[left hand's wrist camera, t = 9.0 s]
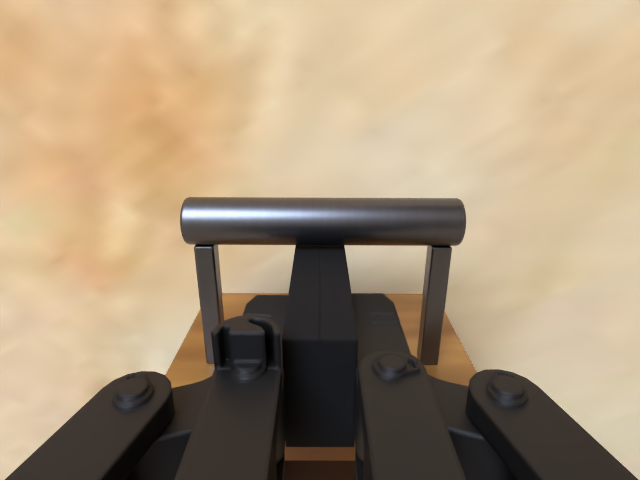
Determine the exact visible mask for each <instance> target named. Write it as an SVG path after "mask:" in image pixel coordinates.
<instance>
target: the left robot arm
mask: <svg viewBox="0 0 640 480" xmlns="http://www.w3.org/2000/svg"><path fill="white" fill-rule="evenodd" d="M211 338H212V348H213V358H214V367H215V369H214V372H213V374H212V376H211V377H209V378H207V379H205V380H202V381H199V382H196V383H192V384H188V385H183V386H179V387H174V388H172V386H171V381H170V380H169V379H168V378H167V377H166V376H165V375H163V374H160V373H157V372H147V371H141V372H136V373H132V374H127V375H125V376H123V377H120V378H118V379H116V380H114V381H112V382H111V383H109V384H108V385H107V386H105V387H104V388H102V389H101V390H100V391H99V392H98V393H97V394H96V395H95V396H94V397H93V398H92V399H91V400H90V401H89V402H87V403H86V404H85V405H84V406H83V407H82V408H81V409H80V410H79V411H78V412H77V413H76V414H75V415H74V416H72V417H71V418H70V419H69V420H68V421H67V422H66V423H65V424H64V425H63V426H62V427H61V428H60V429H59V430H58V431H56V432H55V433H54V434H53V435H52V436H51V437H50V438H49V439H48V440H47V441H46V442H45V443H44V444H43V445H42V446H40V447H39V448H38V449H37V450H36V451H35V452H34V453H33V454H32V455H31V456H30V457H29V458H28V459H27V460H25V461H24V462H23V463H22V464H21V465H20V466H19V467H18V468H17V469H16V470H15V471H14V472H13V473H12V474H11V475H9V476H8V477H7V478H6V479H5V480H284V477H285V440H286V447H354V438H355V448H356V449H355V475H354V480H638V479H637V478H636V477H635V476H634V475H633V474H632V473H631V472H629V471H628V470H627V469H626V468H625V467H624V466H623V465H622V464H621V463H620V462H619V461H618V460H617V459H615V458H614V457H613V456H612V455H611V454H610V453H609V452H608V451H607V450H606V449H605V448H604V447H603V446H601V445H600V444H599V443H598V442H597V441H596V440H595V439H594V438H593V437H592V436H591V435H590V434H589V433H587V432H586V431H585V430H584V429H583V428H582V427H581V426H580V425H579V424H578V423H577V422H576V421H575V420H573V419H572V418H571V417H570V416H569V415H568V414H567V413H566V412H565V411H564V410H563V409H562V408H561V407H559V406H558V405H557V404H556V403H555V402H554V401H553V400H552V399H551V398H550V397H549V396H548V395H547V394H545V393H544V392H543V391H542V390H541V389H540V388H539V387H538V386H537V385H535V384H534V383H532V382H531V381H529V380H528V379H527V378H525V377H522V376H520V375H517V374H515V373H513V372H508V371H503V370H483V371H481V372H478V373H475V374H474V375H473V376H472V378H471V379H470V380H469V386H465V385H460V384H456V383H451V382H447V381H444V380H440V379H437V378H435V377H433V376H431V375H429V374H427V371H426V368H425V367H424V365H423V364H422V362H421V361H420V360H419V359H417V358H416V357H415V356H413V355H412V354H411V352H410V349H409V346H408V343H407V341H406V338H405V335H404V332H403V329H402V326H401V324H400V320H399V317H398V315H397V311H396V308H395V305H394V302H392V301H391V300H390V299H389V298H388V297H387V296H386V295H384V294H351V289H350V282H349V275H348V268H347V262H346V255H345V248H344V245H296V248H295V255H294V261H293V268H292V275H291V282H290V288H289V295H256V296H255V297H254V298H253V299H251V300H250V301H249V302H248V303H247V304H246V306H245V309H244V312H243V316H237V317H234V318H230V319H227V320H225V321H223V322H222V323H220V324H218V325H217V326H216V327H215V328H214V329H213V331H212V332H211Z"/></svg>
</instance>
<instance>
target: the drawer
mask: <svg viewBox="0 0 640 480" xmlns="http://www.w3.org/2000/svg"><path fill="white" fill-rule="evenodd" d="M180 226H181V233H182V236H183V239H184V241H185V242H186V243H187V244H196V245H195V247H194V252H195V261H196V270H197V280H198V289H199V298H200V308H201V309H200V311H199V313H198V315H197V317H196V318H195V320H194V322H193V324H192V326H191V328H190V330H189V332H188V334H187V335H186V337H185V339H184V341H183V343H182V345H181V347H180V349H179V351H178V352H177V354H176V356H175V358H174V360H173V362H172V364H171V366H170V367H169V369H168V371H167V373H166V375H165V376H166V377H167V378H168V379H169V380H170V381H171V386H172V388H174V387H179V386H183V385H188V384H192V383H196V382H199V381H202V380H205V379H207V378H209V377H211V376H212V374H213V372H214V369H215V367H214V358H213V348H212V338H211V332H212V331H213V329H214V328H215V327H216V326H217V325H218V324H220V323H222V322H223V321H225V320H227V319H230V318H234V317H237V316H243V312H244V309H245V306H246V304H247V303H248V302H249V301H250V300H251V299H253V298H254V297H255V296H256V295H289V294H265V293H222V288H221V277H220V265H219V254H218V245H428V247H427V257H426V267H425V277H424V287H423V294H384V295H386V296H387V297H388V298H389V299H390V300H391V301H392V302H394V305H395V308H396V311H397V315H398V317H399V320H400V324H401V326H402V329H403V332H404V335H405V338H406V341H407V343H408V346H409V349H410V352H411V354H412V355H413V356H415V357H416V358H417V359H419V360H420V361H421V362H422V364H423V365H424V367H425V368H426V371H427V374H429V375H431V376H433V377H435V378H437V379H440V380H444V381H447V382H451V383H456V384H460V385H465V386H469V380H470V379H471V378H472V376H473V375H474V374H475V373H477V372H476V370H475V368H474V367H473V365H472V363H471V361H470V359H469V357H468V355H467V353H466V352H465V350H464V348H463V346H462V344H461V342H460V340H459V338H458V337H457V335H456V333H455V331H454V329H453V327H452V325H451V323H450V321H449V320H448V318H447V316H446V314H445V312H444V309H445V301H446V293H447V284H448V276H449V268H450V260H451V251H452V248H451V246H456V245H459V244H460V243H461V242H462V240H463V238H464V234H465V228H466V214H465V208H464V205H463V203H462V201H461V200H460V199H457V198H236V197H189V198H186V199H185V200H184V202H183V204H182V208H181V214H180ZM355 449H356V448H355V438H354V447H286V440H285V477H284V480H354V475H355Z"/></svg>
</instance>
